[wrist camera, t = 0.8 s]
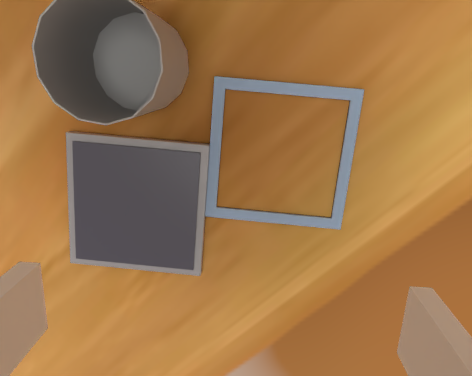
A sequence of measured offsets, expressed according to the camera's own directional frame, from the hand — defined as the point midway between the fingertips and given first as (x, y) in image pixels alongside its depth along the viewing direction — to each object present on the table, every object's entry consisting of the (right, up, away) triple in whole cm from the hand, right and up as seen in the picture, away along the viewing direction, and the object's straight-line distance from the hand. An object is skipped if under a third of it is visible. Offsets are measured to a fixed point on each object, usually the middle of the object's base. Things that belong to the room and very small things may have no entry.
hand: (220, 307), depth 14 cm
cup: (-8, +15, +21) cm, 27 cm away
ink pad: (-9, +3, +24) cm, 26 cm away
